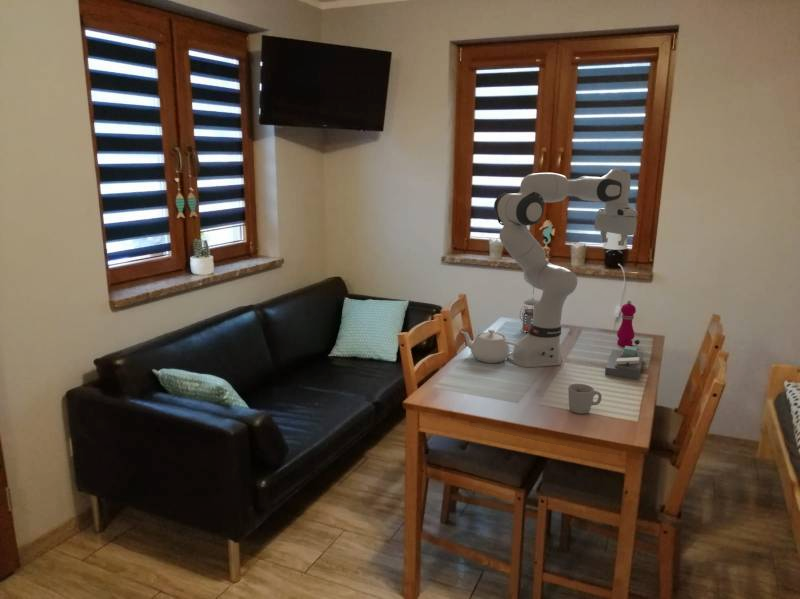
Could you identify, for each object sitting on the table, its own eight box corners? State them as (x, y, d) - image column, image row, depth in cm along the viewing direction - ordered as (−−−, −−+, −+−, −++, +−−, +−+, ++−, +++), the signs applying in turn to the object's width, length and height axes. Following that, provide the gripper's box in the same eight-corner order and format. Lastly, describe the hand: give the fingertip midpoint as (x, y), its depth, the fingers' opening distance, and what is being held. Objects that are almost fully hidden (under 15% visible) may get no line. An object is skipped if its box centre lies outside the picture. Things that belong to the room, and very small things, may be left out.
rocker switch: (639, 365, 222) (638, 360, 222) (616, 365, 226) (616, 361, 226) (639, 361, 226) (639, 356, 226) (617, 362, 230) (617, 358, 230)
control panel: (638, 380, 222) (640, 364, 220) (604, 374, 227) (606, 359, 225) (642, 360, 243) (644, 346, 242) (611, 356, 248) (613, 342, 246)
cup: (595, 406, 198) (597, 383, 196) (604, 416, 191) (606, 392, 189) (563, 406, 198) (565, 383, 196) (570, 416, 190) (573, 392, 188)
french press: (545, 331, 281) (549, 280, 275) (527, 335, 275) (530, 282, 270) (531, 326, 289) (534, 276, 283) (513, 329, 284) (516, 278, 278)
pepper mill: (612, 343, 266) (616, 299, 261) (624, 341, 268) (629, 298, 264) (624, 347, 259) (629, 303, 254) (637, 345, 262) (641, 301, 257)
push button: (635, 357, 230) (636, 350, 229) (623, 356, 232) (624, 348, 231) (636, 354, 234) (637, 347, 233) (624, 352, 236) (625, 345, 235)
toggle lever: (633, 354, 239) (640, 341, 237) (628, 352, 240) (635, 339, 238) (633, 353, 241) (640, 340, 239) (629, 350, 241) (635, 338, 239)
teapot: (523, 359, 244) (525, 330, 241) (510, 369, 230) (512, 339, 228) (467, 348, 256) (468, 321, 253) (452, 358, 243) (453, 329, 240)
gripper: (592, 207, 250) (589, 240, 253) (628, 212, 232) (624, 247, 235) (604, 207, 252) (601, 240, 255) (640, 212, 234) (636, 247, 237)
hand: (612, 243), depth 245 cm, fingers open, 8 cm apart
